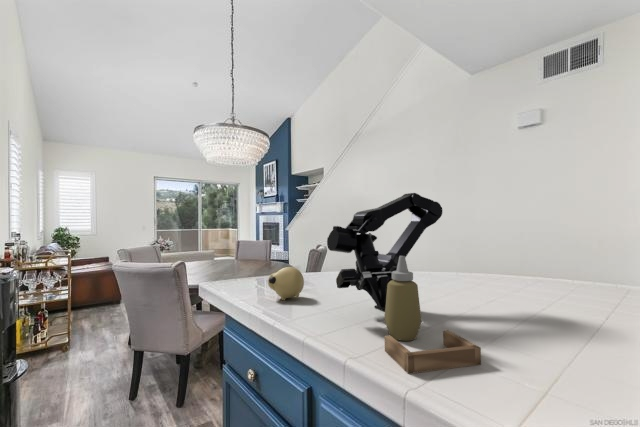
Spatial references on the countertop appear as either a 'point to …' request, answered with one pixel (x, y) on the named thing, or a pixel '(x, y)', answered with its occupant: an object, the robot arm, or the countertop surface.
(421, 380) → the countertop surface
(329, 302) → the countertop surface
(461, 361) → the bay
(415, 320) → the squeeze bottle
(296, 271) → the beige round figure
